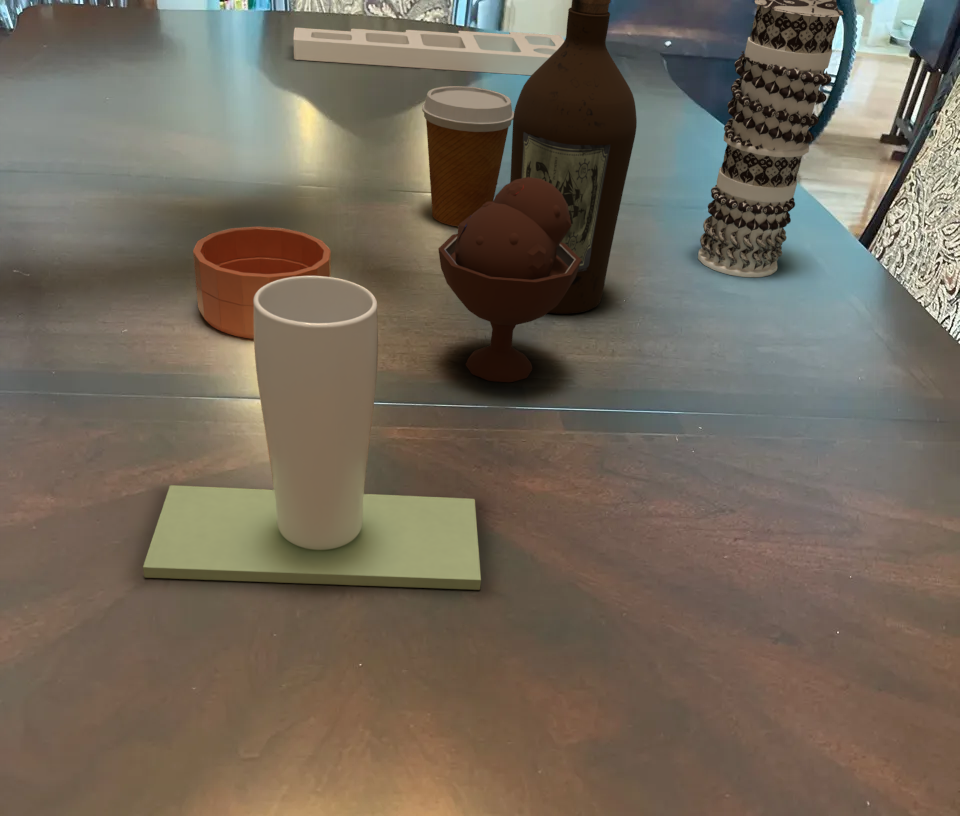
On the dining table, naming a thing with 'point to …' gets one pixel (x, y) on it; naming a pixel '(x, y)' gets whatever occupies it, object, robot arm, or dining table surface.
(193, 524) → the mat
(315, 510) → the drinking glass
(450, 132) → the disposable coffee cup
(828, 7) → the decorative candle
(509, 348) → the ice cream bowl
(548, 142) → the olive oil
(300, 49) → the holder
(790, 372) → the dining table surface
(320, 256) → the pot
